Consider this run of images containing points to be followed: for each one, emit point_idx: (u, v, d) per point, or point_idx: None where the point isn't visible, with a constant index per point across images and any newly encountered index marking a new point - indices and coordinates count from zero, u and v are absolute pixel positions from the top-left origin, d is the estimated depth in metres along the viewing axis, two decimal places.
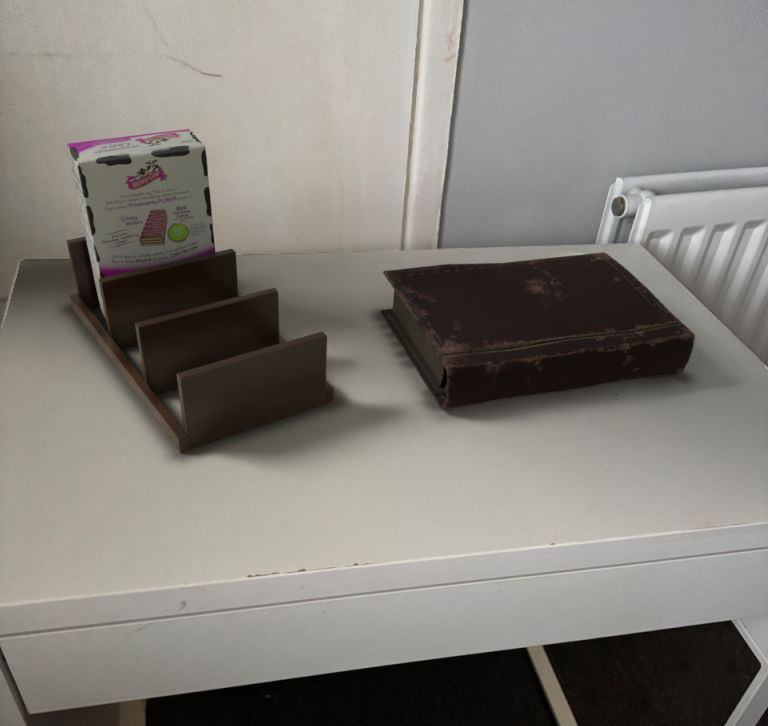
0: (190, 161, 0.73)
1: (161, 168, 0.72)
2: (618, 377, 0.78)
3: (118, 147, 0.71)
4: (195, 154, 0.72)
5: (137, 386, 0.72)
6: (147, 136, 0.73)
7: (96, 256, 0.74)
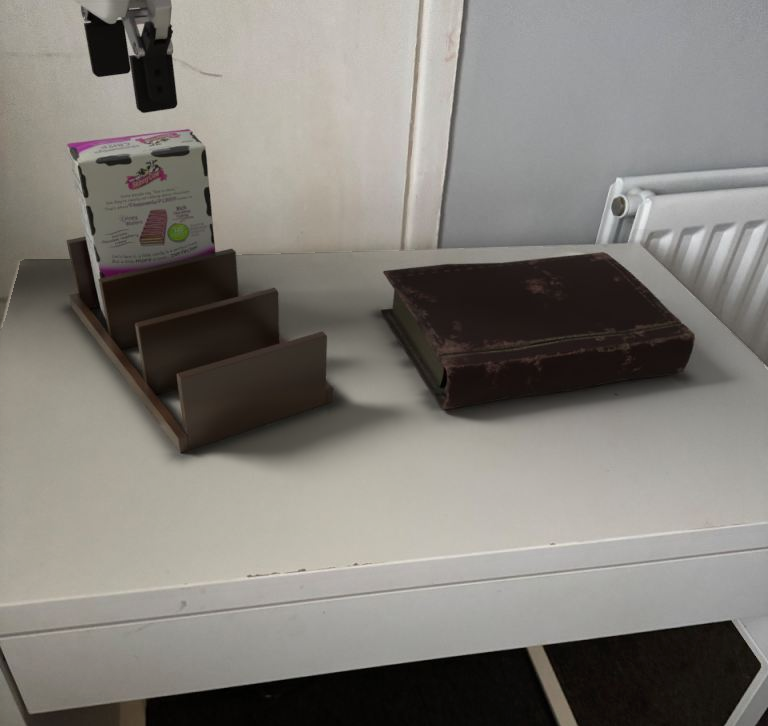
0: (190, 161, 0.73)
1: (161, 168, 0.72)
2: (618, 377, 0.78)
3: (118, 147, 0.71)
4: (195, 154, 0.72)
5: (137, 386, 0.72)
6: (147, 136, 0.73)
7: (96, 256, 0.74)
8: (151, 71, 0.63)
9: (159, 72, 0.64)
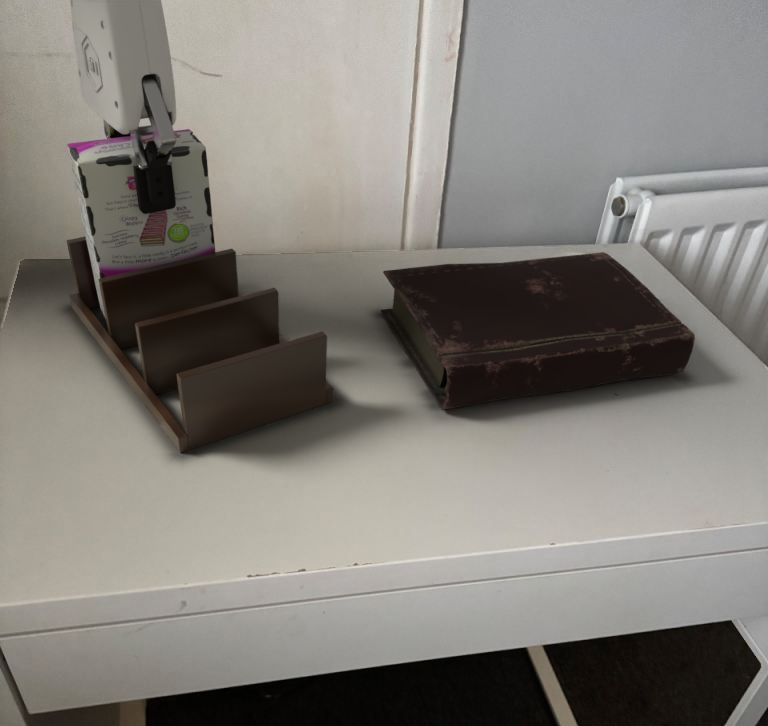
0: (190, 162, 0.73)
1: None
2: (618, 377, 0.78)
3: (118, 147, 0.71)
4: (195, 155, 0.72)
5: (137, 386, 0.72)
6: (147, 136, 0.73)
7: (96, 256, 0.74)
8: (153, 180, 0.70)
9: (159, 179, 0.71)
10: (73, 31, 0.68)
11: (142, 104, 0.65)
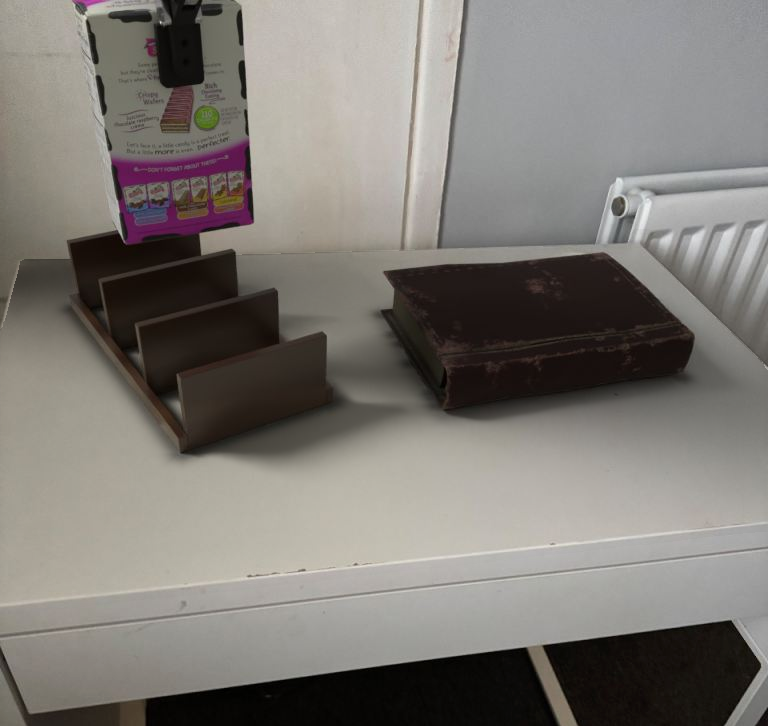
0: (223, 24, 0.59)
1: None
2: (618, 377, 0.78)
3: (135, 3, 0.58)
4: (229, 15, 0.59)
5: (137, 386, 0.72)
6: None
7: (107, 143, 0.61)
8: (178, 42, 0.57)
9: (186, 42, 0.58)
10: None
11: None
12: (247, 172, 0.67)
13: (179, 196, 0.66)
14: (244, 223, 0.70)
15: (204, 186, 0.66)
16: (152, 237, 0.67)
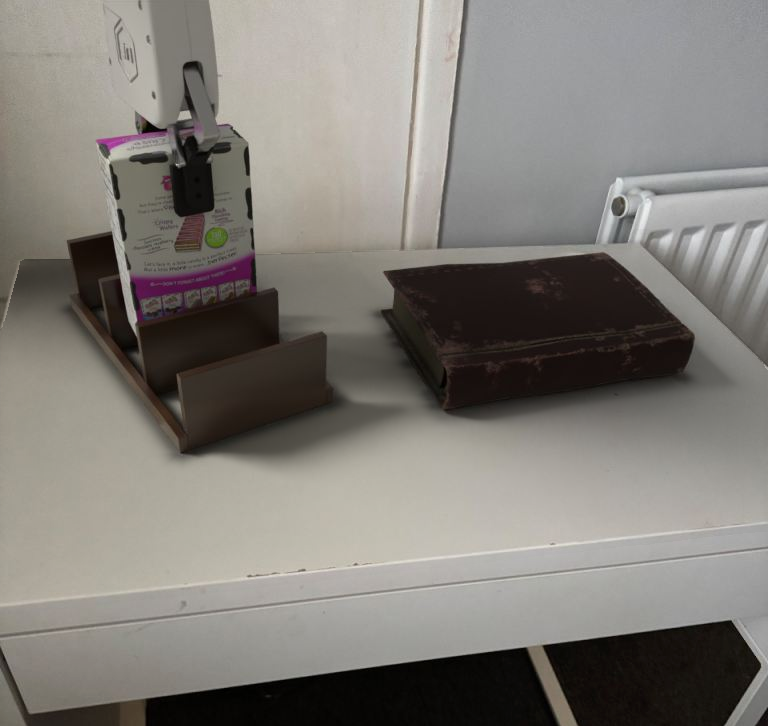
0: (232, 159, 0.66)
1: None
2: (618, 377, 0.78)
3: (153, 143, 0.64)
4: (237, 152, 0.65)
5: (137, 386, 0.72)
6: (183, 131, 0.66)
7: (127, 264, 0.67)
8: (191, 179, 0.64)
9: (198, 179, 0.64)
10: (104, 14, 0.61)
11: (182, 95, 0.58)
12: (253, 280, 0.73)
13: (191, 304, 0.72)
14: None
15: (214, 294, 0.72)
16: None
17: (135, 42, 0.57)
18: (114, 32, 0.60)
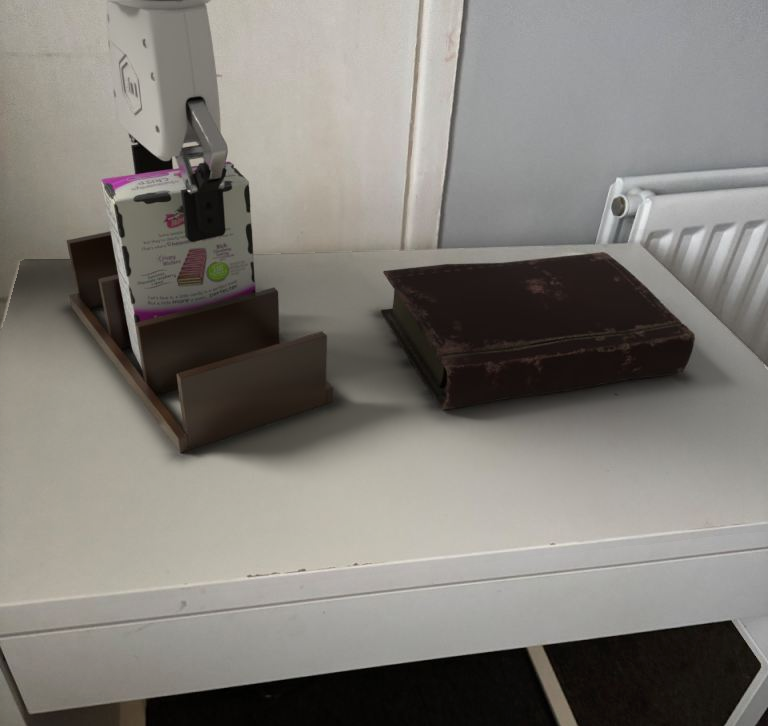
0: (232, 197, 0.68)
1: None
2: (618, 377, 0.78)
3: (156, 183, 0.66)
4: (238, 190, 0.68)
5: (137, 386, 0.72)
6: None
7: (131, 298, 0.69)
8: (202, 205, 0.63)
9: (209, 204, 0.64)
10: (109, 48, 0.62)
11: (185, 129, 0.60)
12: None
13: None
14: None
15: None
16: None
17: (139, 78, 0.59)
18: (119, 66, 0.61)
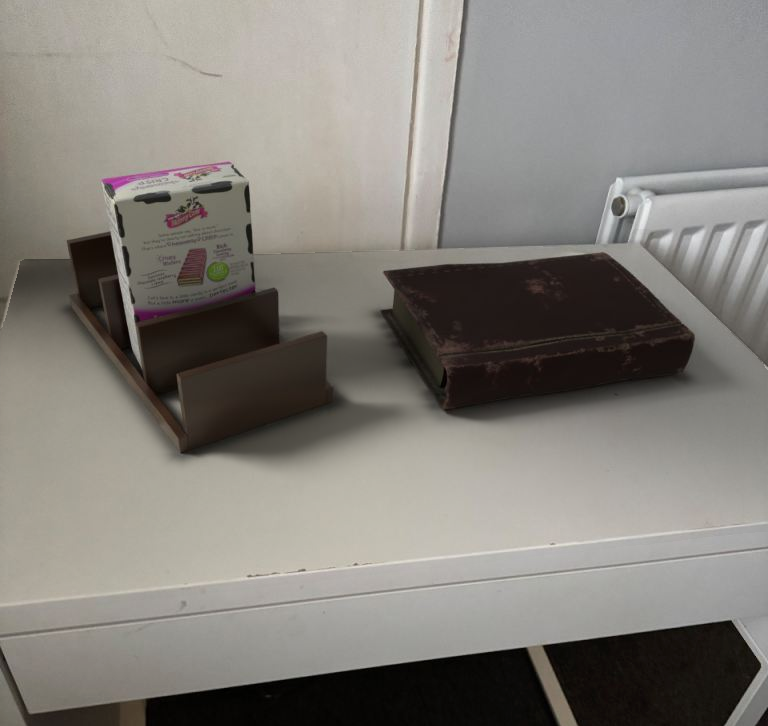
0: (232, 197, 0.68)
1: (202, 205, 0.67)
2: (618, 377, 0.78)
3: (156, 183, 0.66)
4: (238, 190, 0.68)
5: (137, 386, 0.72)
6: (186, 170, 0.68)
7: (131, 298, 0.69)
8: None
9: None
10: None
11: None
12: None
13: None
14: None
15: None
16: None
17: None
18: None
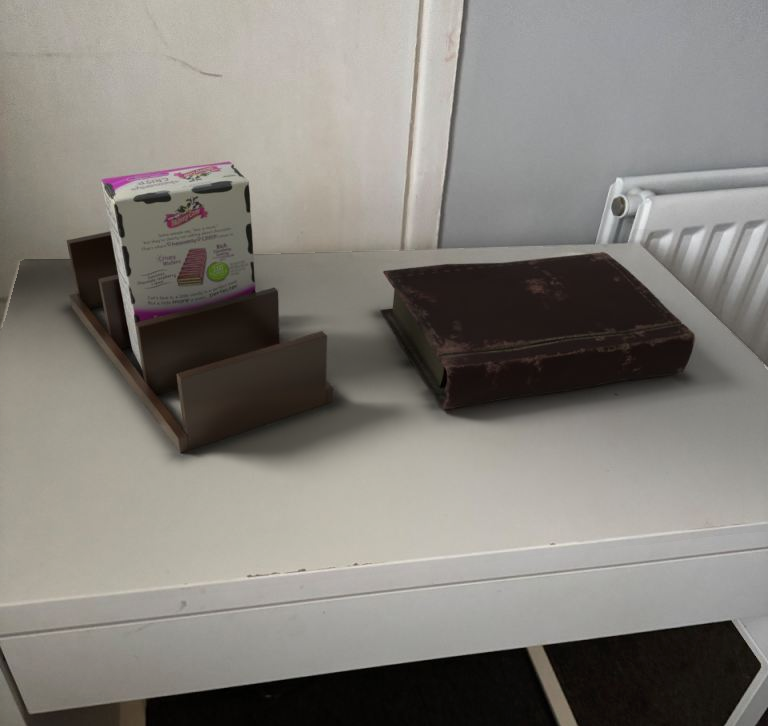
0: (232, 197, 0.68)
1: (202, 205, 0.67)
2: (618, 377, 0.78)
3: (156, 183, 0.66)
4: (238, 190, 0.68)
5: (137, 386, 0.72)
6: (186, 170, 0.68)
7: (131, 298, 0.69)
8: None
9: None
10: None
11: None
12: None
13: None
14: None
15: None
16: None
17: None
18: None
